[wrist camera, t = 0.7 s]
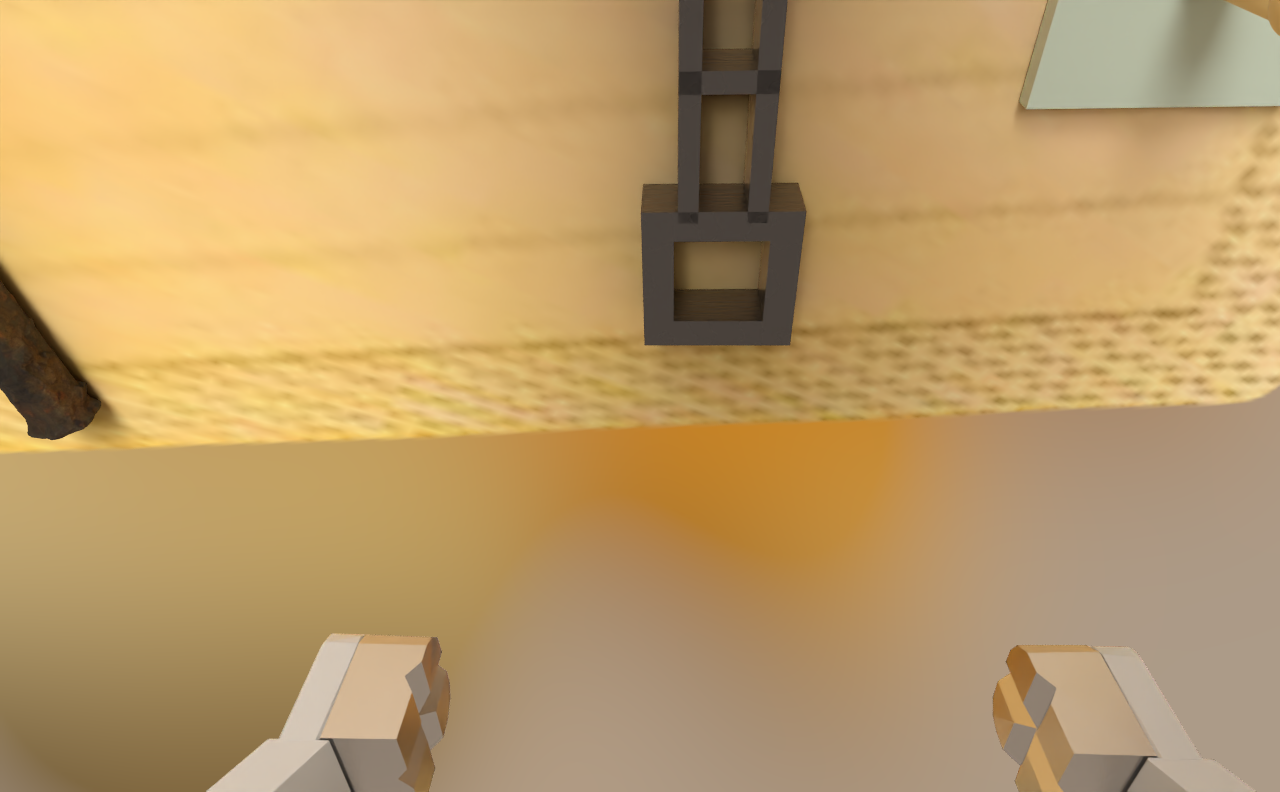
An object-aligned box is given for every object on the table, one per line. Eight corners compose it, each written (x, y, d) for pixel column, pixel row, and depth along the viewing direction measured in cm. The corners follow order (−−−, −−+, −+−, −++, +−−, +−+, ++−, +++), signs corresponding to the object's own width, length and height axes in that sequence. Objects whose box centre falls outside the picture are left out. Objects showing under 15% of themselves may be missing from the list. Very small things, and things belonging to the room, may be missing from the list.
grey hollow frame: (783, 312, 45) (789, 345, 42) (646, 312, 45) (644, 345, 42) (831, -114, 31) (844, -103, 29) (635, -109, 32) (632, -97, 29)
